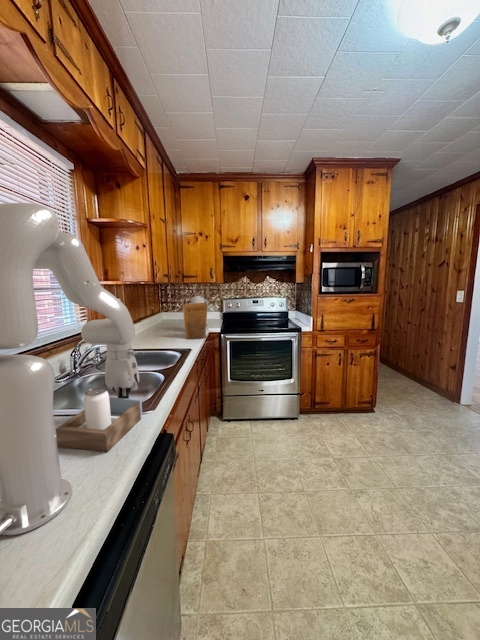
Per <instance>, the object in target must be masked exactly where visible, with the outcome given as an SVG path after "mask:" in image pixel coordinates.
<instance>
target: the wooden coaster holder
mask: <svg viewBox="0 0 480 640" xmlns="http://www.w3.org/2000/svg"><path fill="white" fill-rule="evenodd" d="M141 416H142V415H141V413H140V404H139V403H135V404H134V405H133V406H132V407H131V408H129V409H128V410H127V411H126V412H125V413H124V414H122V415H121V416H120V417H119V418H118V419H116V420H115V421H114V422H113V423H112V424H111V425H109V426H108V427H107V428H106V429H105V430H100V429H89V428H78V427H79V426H81V425H82V424H84V423H85V422H86V418H85V409H84V410H82V411H80V412H79V413H77V414H76V415H74V416H73V417H71V418H69V420H67V421H66V422H64V423H62V424H60V425H59V426H58V427H55V432H56V440H57V448H61V449H69V450H81V451H89V452H91V451H92V452H98V453H99V452H100V453H109V452H110V451H111V449H113V448H114V447H115V446H116V445H117V444H118V442H120V441H121V439H122V438H124V437H125V436H126V435H127V434H128V433H129V432H130V431H131V429H133V427H135V426H136V425H137V424H138V423H139V422H140V421H141V420H142V417H141Z"/></svg>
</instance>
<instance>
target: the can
mask: <svg viewBox="0 0 480 640" xmlns="http://www.w3.org/2000/svg"><path fill="white" fill-rule="evenodd" d="M107 389H108V388H107V387H104V386H103V387H94V388H91V389H88V390H86V391H85V392H84V396H83V407H84V410H85V418H86V427H87V428H89V429H100V430H105V429H106V428H107V427H108V426H109V425H111V412H110V401H109V397H110V394H109V392H108V390H107Z"/></svg>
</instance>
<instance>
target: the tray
mask: <svg viewBox="0 0 480 640" xmlns="http://www.w3.org/2000/svg"><path fill="white" fill-rule="evenodd" d="M109 401H110V412H111V424H112V423H113V422H114V421H115V420H116V419H118V418H119V417H120V416H121V415H122V414H124V413H125V412H126V411H127V410H128V409H129V408H131V407H132V406H133V405H134V404H135V403H139V404H140V413H141V416H143V405H142V399H141V398H130V397H129V398H118V397H113V396H111V397H110V396H109ZM78 428H87V427H86V422H85V423H84V424H82V425H81V426H79V427H78Z"/></svg>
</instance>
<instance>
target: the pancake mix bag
mask: <svg viewBox="0 0 480 640" xmlns="http://www.w3.org/2000/svg"><path fill="white" fill-rule="evenodd" d="M182 311H183V312H182V313H183V322H184V324H183V325H184V331H185V340H201V339H206V338H207V333H206V332H207V326H206V324H207V318H208V317H207V316H208V310H207V303H206V302H204V303H195V304H191V303H185V304H184V305H183V306H182Z"/></svg>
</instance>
